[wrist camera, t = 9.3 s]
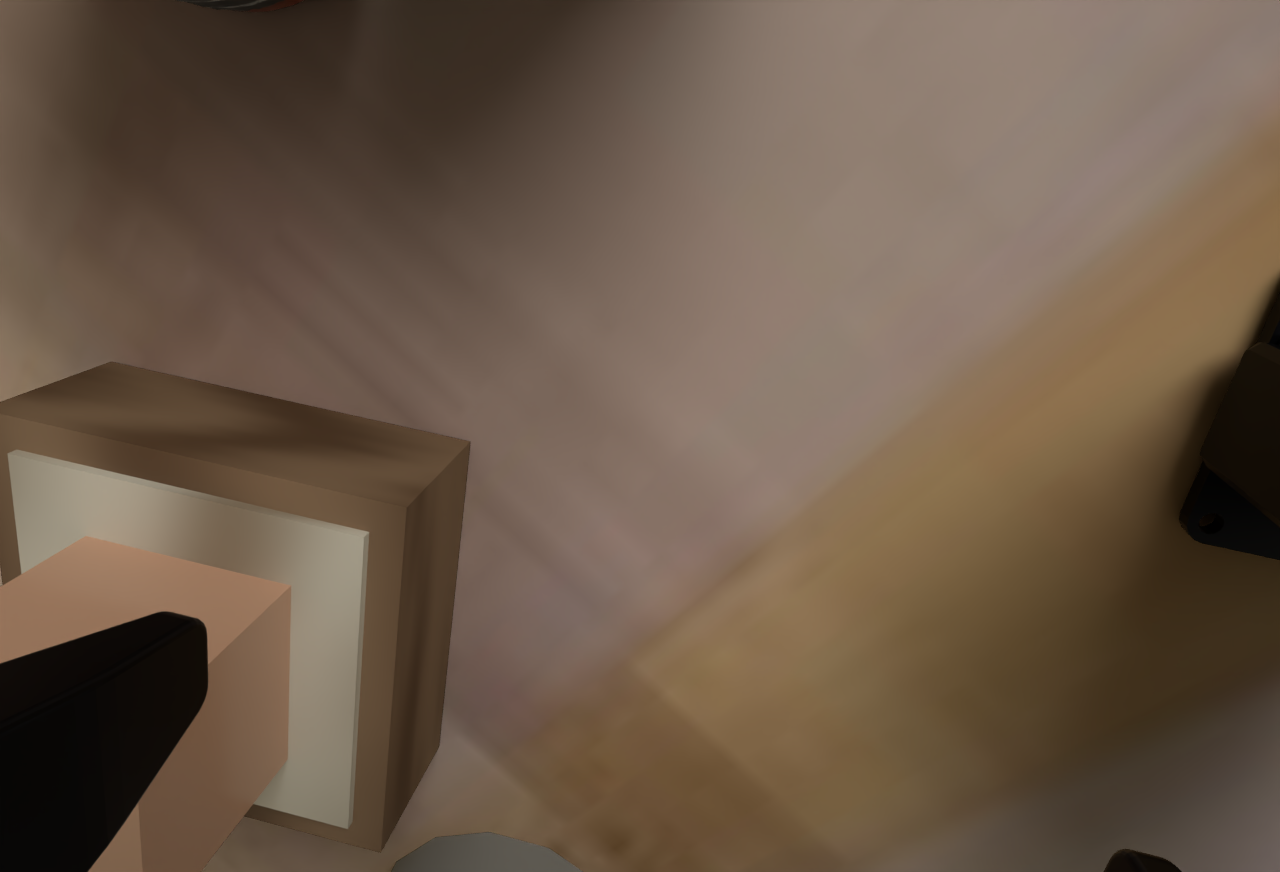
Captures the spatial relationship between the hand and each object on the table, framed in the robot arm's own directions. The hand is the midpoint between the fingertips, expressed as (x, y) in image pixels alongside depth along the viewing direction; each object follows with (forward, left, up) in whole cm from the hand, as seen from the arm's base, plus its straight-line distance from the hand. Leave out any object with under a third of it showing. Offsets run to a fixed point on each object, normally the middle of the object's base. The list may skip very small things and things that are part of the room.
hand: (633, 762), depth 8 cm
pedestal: (+11, +8, -13) cm, 19 cm away
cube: (+11, +8, -9) cm, 16 cm away
